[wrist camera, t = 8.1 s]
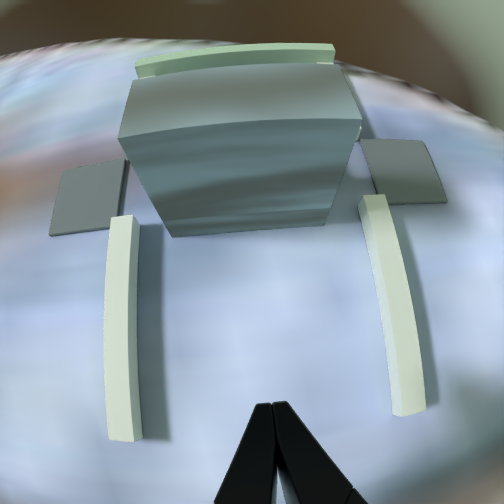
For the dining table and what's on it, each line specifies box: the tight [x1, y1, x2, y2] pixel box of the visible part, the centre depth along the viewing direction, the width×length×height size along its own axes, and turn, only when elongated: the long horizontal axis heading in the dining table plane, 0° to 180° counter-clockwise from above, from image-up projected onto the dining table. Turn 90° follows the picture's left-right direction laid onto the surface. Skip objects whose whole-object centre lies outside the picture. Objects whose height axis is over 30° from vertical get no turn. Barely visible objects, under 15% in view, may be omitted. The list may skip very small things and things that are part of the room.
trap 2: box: [49, 158, 126, 236], centre depth 22 cm, size 6×6×1 cm
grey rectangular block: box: [118, 63, 363, 237], centre depth 19 cm, size 14×10×10 cm
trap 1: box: [360, 139, 448, 205], centre depth 22 cm, size 6×6×1 cm
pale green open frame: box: [104, 43, 426, 442], centre depth 20 cm, size 30×18×3 cm, turn 5°
